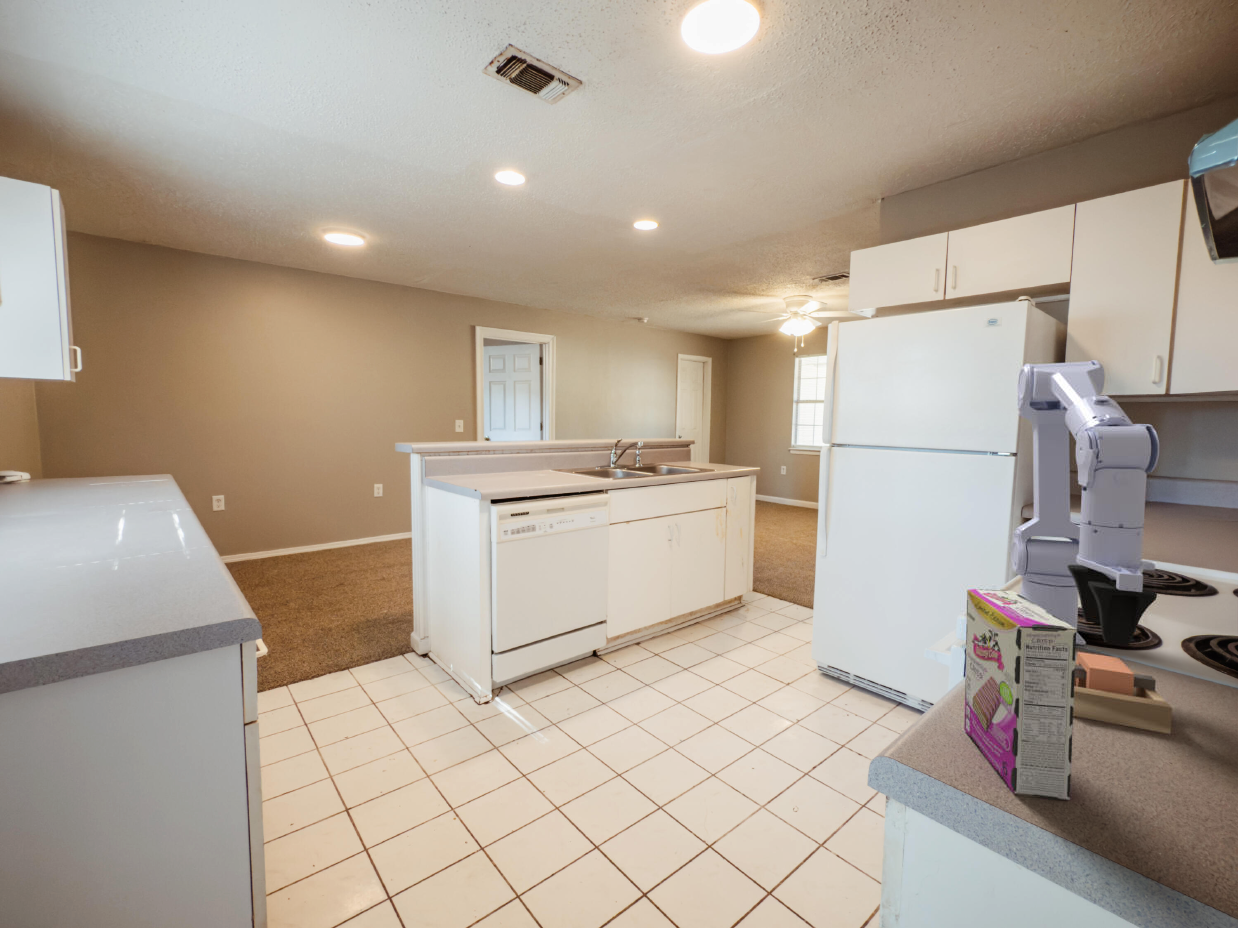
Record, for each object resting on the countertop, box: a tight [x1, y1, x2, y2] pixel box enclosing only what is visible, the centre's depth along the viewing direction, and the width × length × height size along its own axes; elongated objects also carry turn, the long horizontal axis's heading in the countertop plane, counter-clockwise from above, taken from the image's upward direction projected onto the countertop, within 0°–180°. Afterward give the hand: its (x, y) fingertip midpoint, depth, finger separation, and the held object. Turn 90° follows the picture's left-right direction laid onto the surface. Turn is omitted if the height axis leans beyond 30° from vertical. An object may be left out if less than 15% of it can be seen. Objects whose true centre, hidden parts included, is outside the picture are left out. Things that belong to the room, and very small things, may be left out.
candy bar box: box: [963, 588, 1078, 801], centre depth 54 cm, size 11×5×16 cm, turn 168°
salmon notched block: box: [1076, 651, 1134, 696], centre depth 66 cm, size 5×4×4 cm
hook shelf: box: [1073, 661, 1173, 735], centre depth 66 cm, size 10×9×4 cm
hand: (1105, 632), depth 66 cm, fingers open, 7 cm apart
